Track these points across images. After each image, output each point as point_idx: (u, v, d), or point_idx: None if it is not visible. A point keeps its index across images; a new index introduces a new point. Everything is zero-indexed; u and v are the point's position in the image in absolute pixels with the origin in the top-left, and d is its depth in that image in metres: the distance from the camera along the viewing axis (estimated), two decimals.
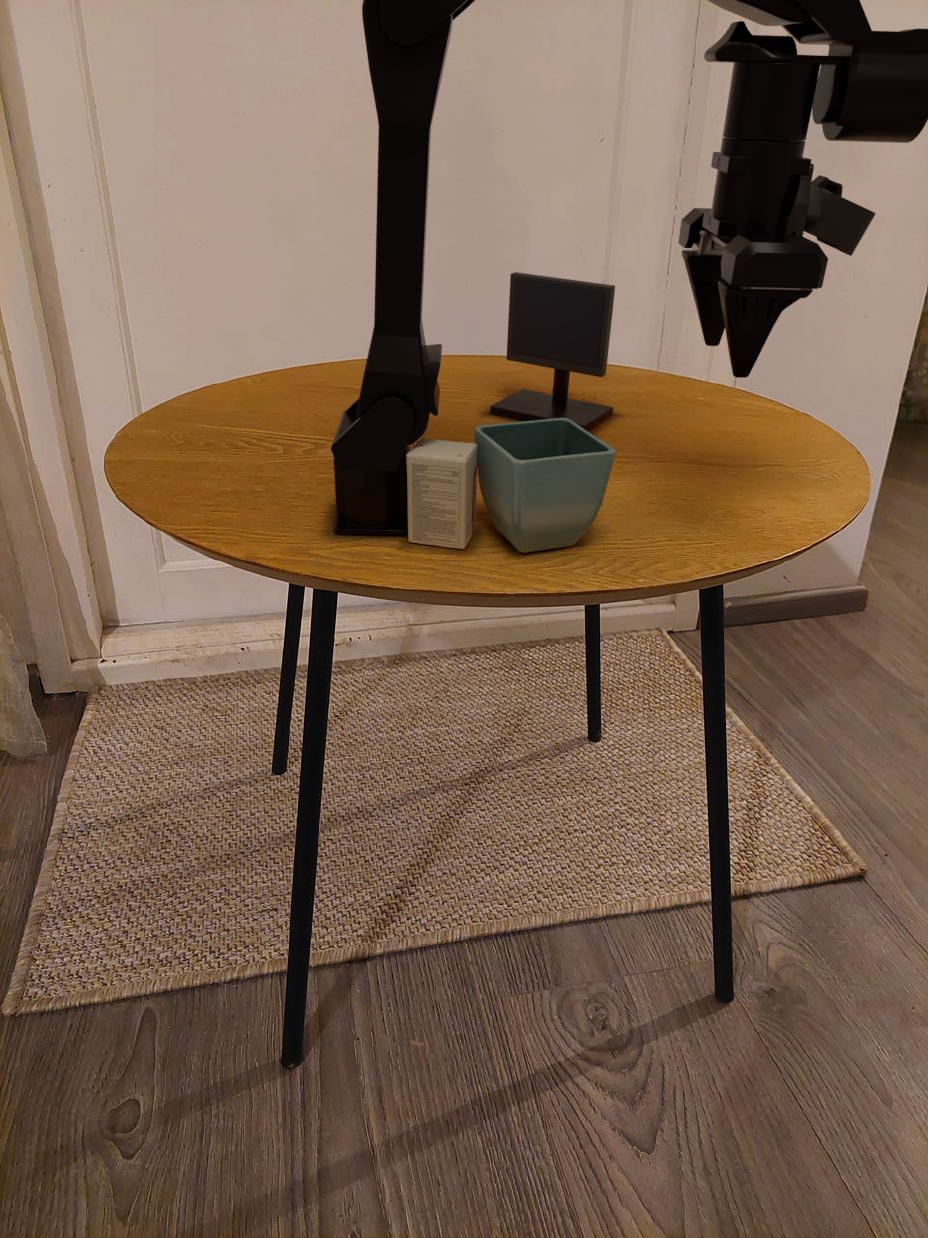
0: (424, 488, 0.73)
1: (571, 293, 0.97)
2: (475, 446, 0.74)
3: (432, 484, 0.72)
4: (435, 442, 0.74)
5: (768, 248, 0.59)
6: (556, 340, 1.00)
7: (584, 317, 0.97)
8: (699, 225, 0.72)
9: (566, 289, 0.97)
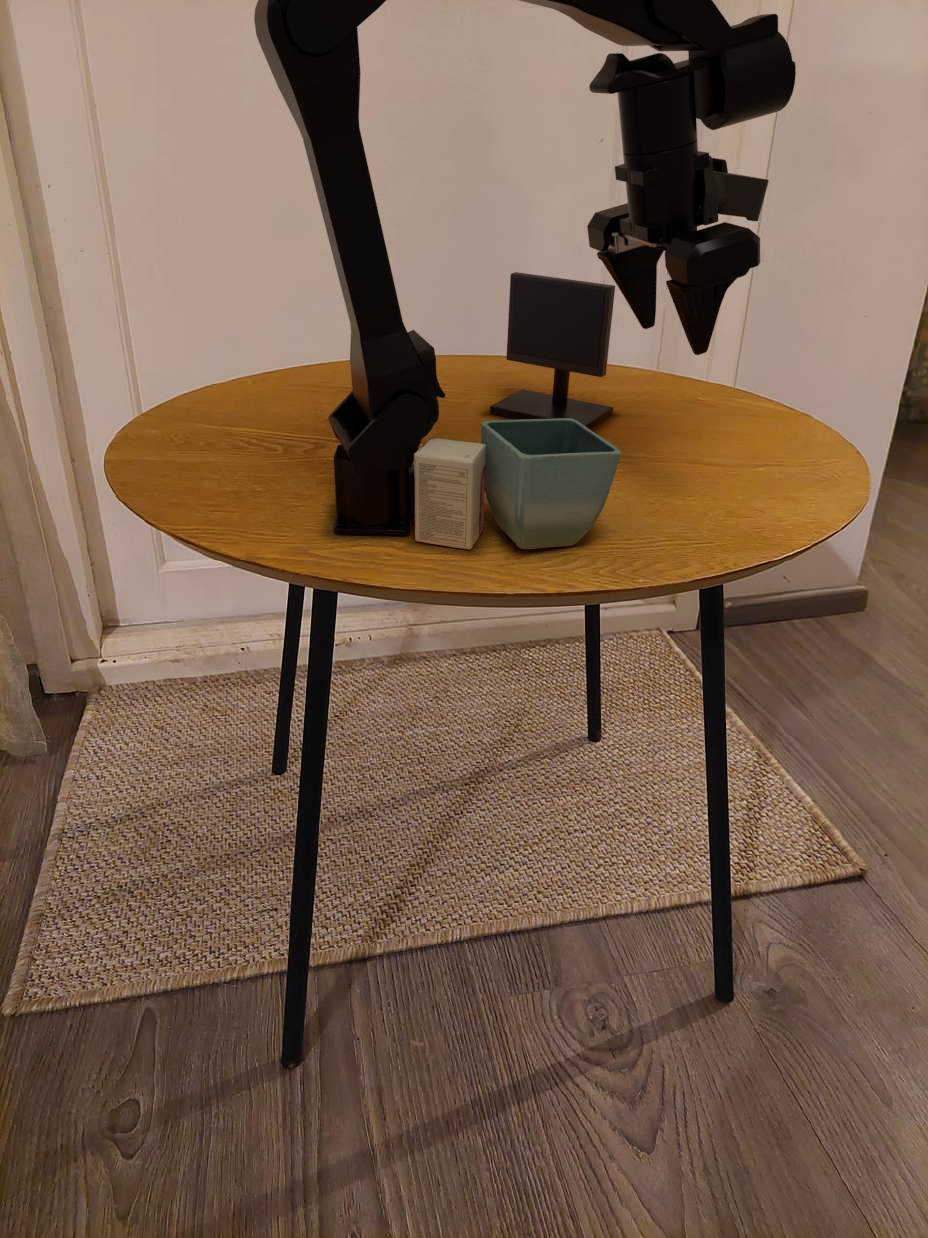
0: (431, 488, 0.73)
1: (571, 293, 0.97)
2: (483, 447, 0.73)
3: (439, 484, 0.72)
4: (444, 442, 0.74)
5: (712, 245, 0.67)
6: (556, 340, 1.00)
7: (584, 317, 0.97)
8: (611, 229, 0.79)
9: (566, 289, 0.97)
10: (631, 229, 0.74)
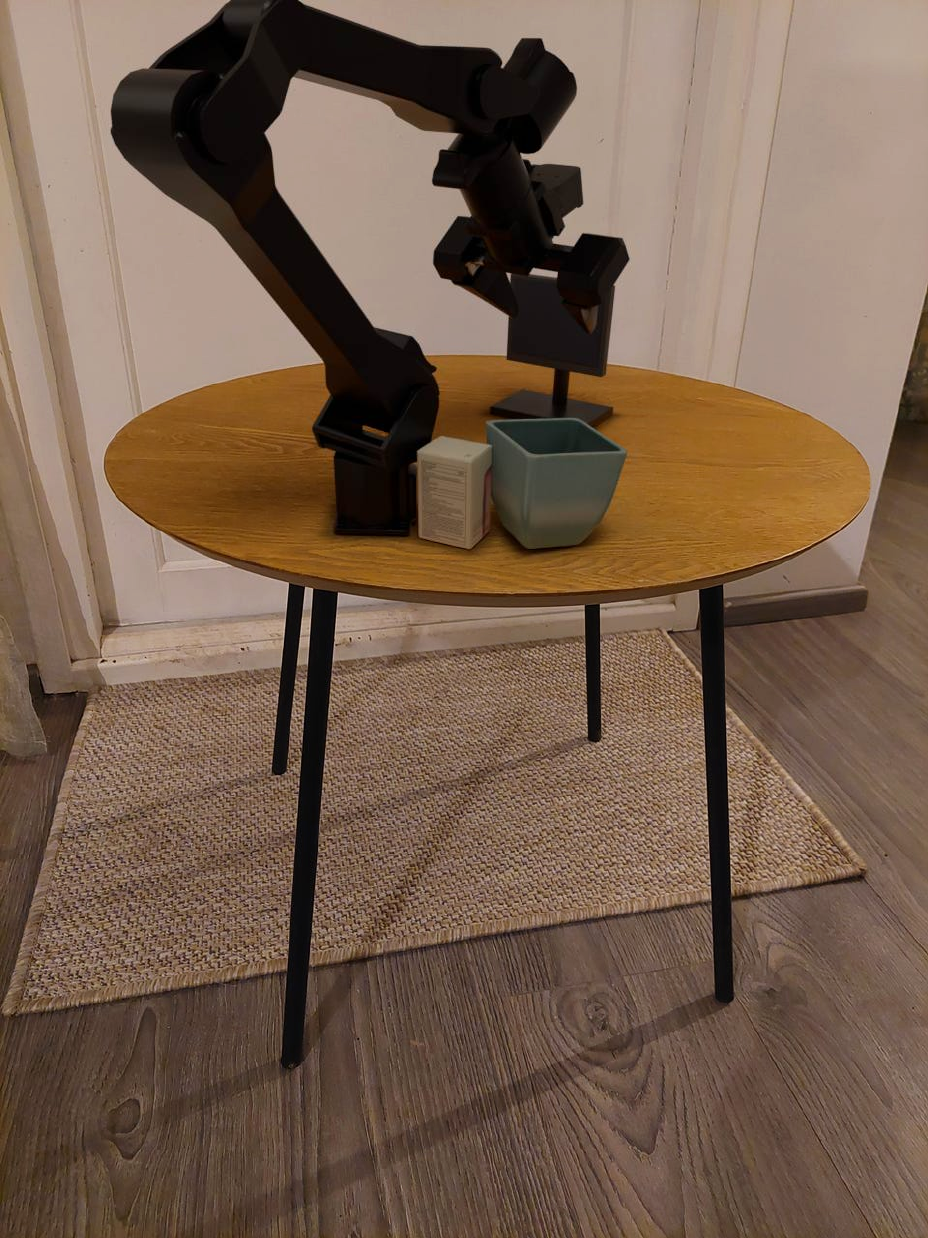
0: (432, 485, 0.73)
1: None
2: (489, 447, 0.73)
3: (440, 481, 0.73)
4: (451, 440, 0.74)
5: (600, 269, 0.77)
6: (556, 340, 1.00)
7: None
8: (464, 262, 0.85)
9: None
10: (501, 267, 0.82)
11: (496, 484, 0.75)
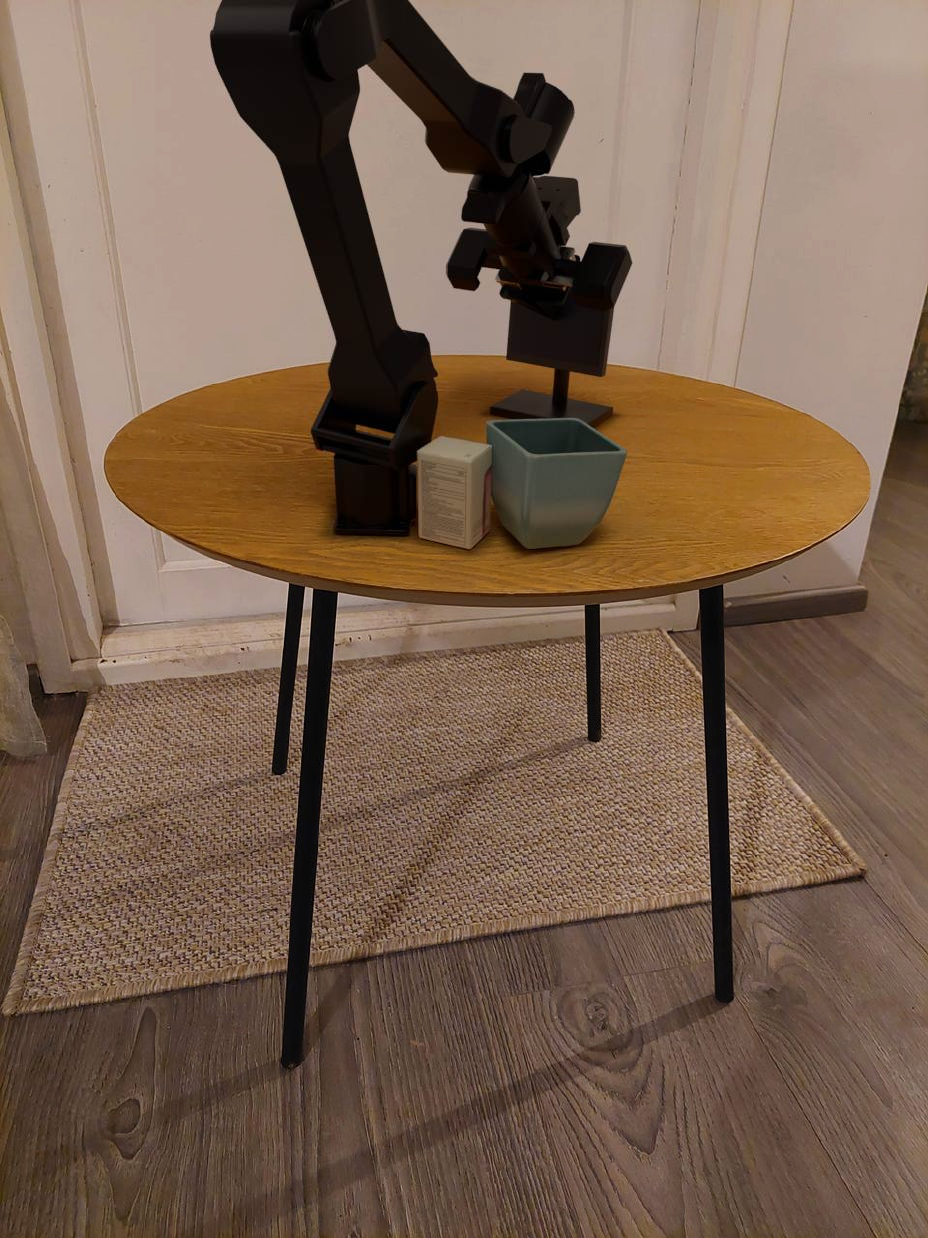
0: (432, 485, 0.73)
1: None
2: (489, 447, 0.73)
3: (440, 481, 0.73)
4: (451, 440, 0.74)
5: (612, 278, 0.86)
6: (556, 339, 1.00)
7: (586, 316, 0.98)
8: (477, 274, 0.93)
9: None
10: (517, 280, 0.90)
11: (496, 484, 0.75)
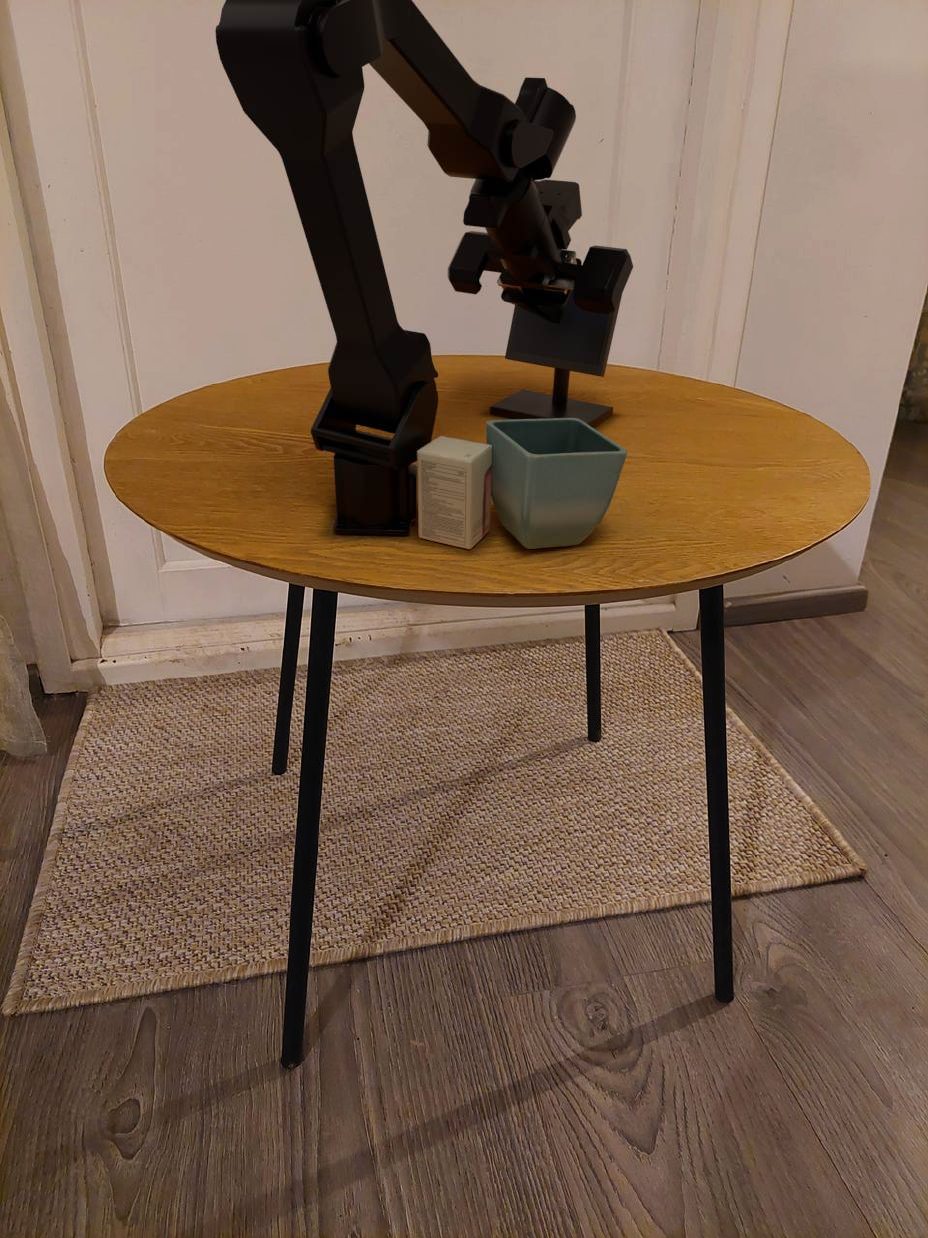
0: (432, 485, 0.73)
1: None
2: (489, 447, 0.73)
3: (440, 481, 0.73)
4: (451, 440, 0.74)
5: (613, 282, 0.87)
6: (558, 338, 1.01)
7: (590, 314, 0.98)
8: (479, 278, 0.93)
9: None
10: (518, 283, 0.90)
11: (496, 484, 0.75)
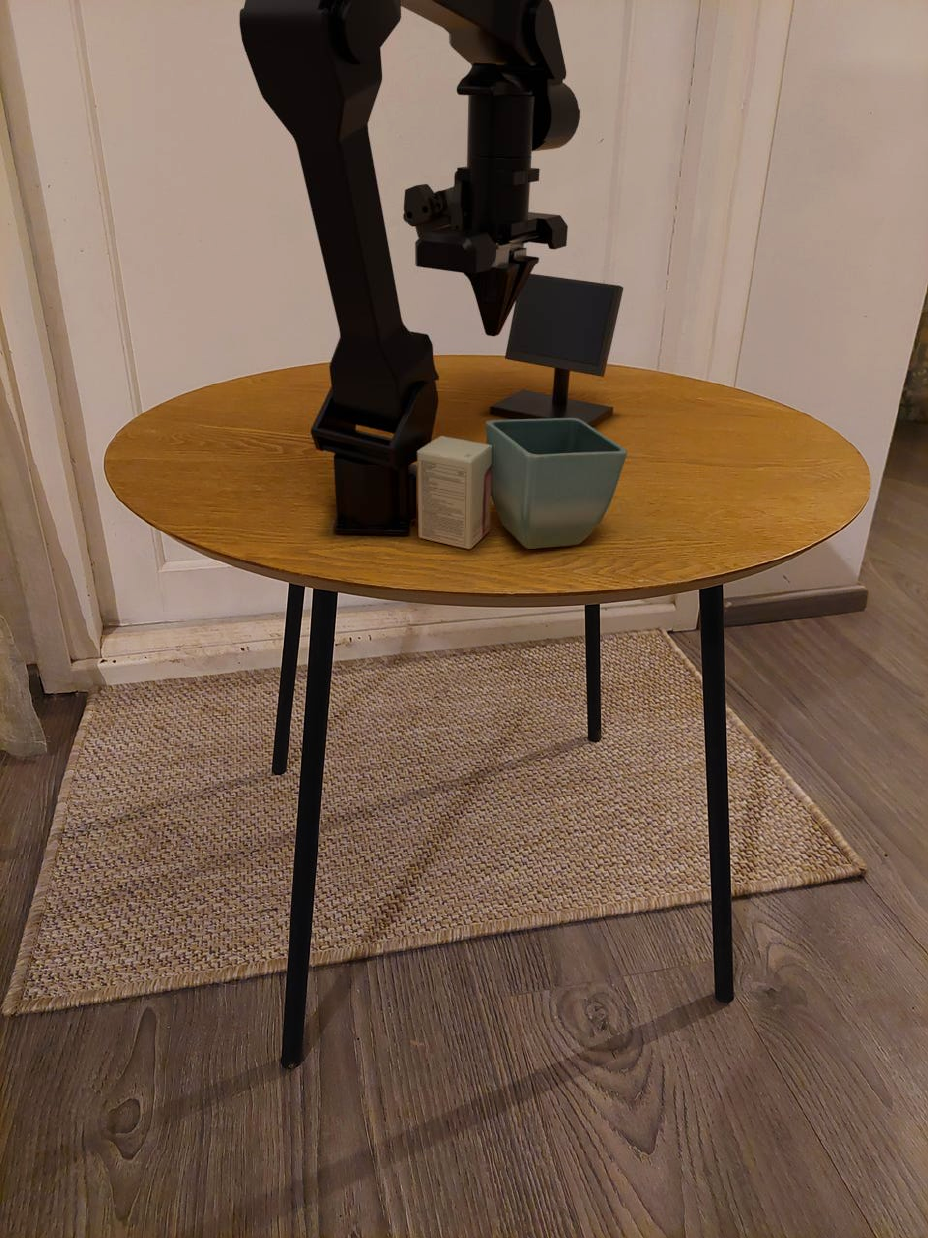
0: (432, 485, 0.73)
1: (579, 291, 0.99)
2: (489, 447, 0.73)
3: (440, 481, 0.73)
4: (451, 440, 0.74)
5: None
6: (558, 338, 1.01)
7: (590, 314, 0.98)
8: None
9: (575, 287, 0.99)
10: (522, 227, 0.81)
11: (496, 484, 0.75)
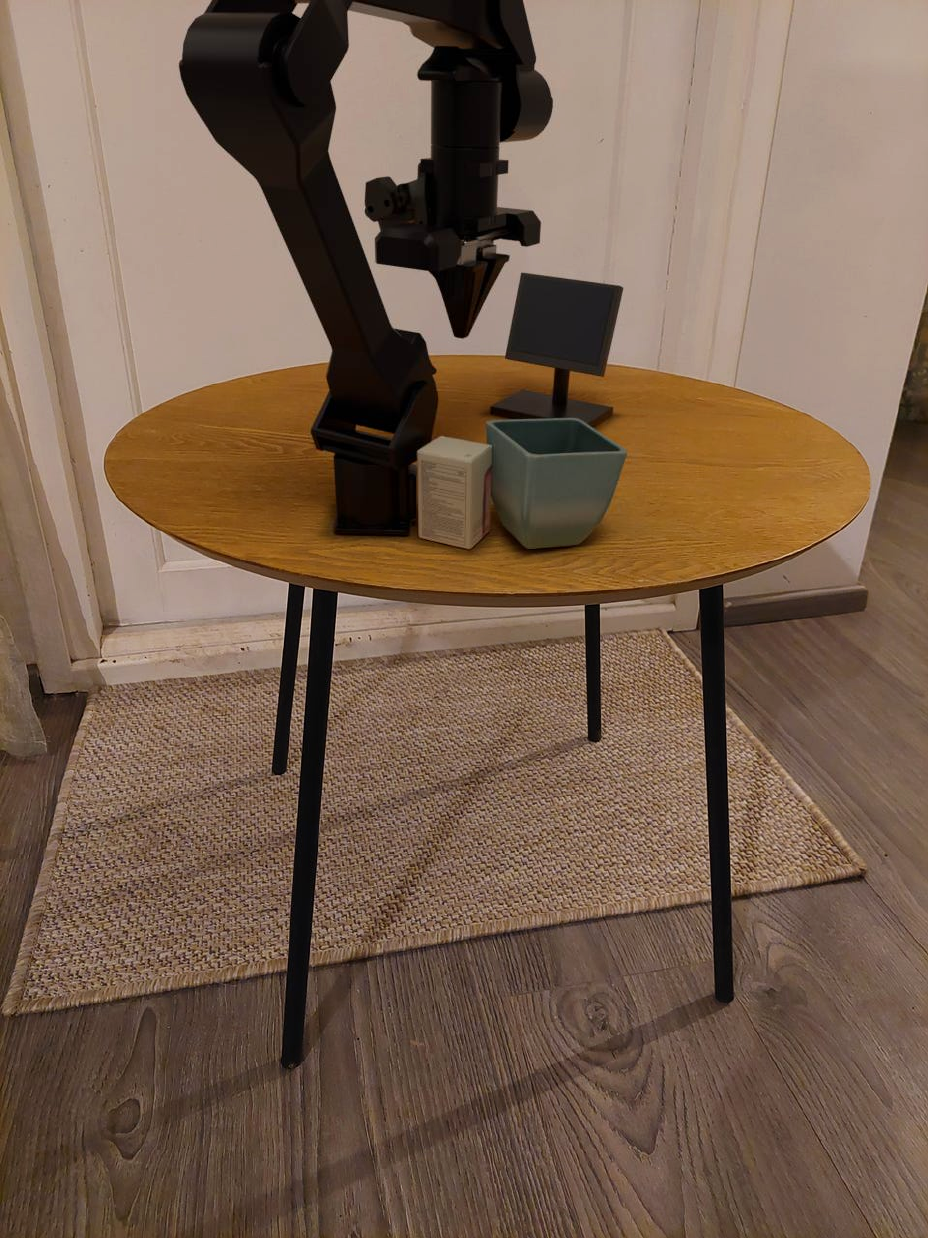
0: (432, 485, 0.73)
1: (579, 291, 0.99)
2: (489, 447, 0.73)
3: (440, 481, 0.73)
4: (451, 440, 0.74)
5: None
6: (558, 338, 1.01)
7: (590, 314, 0.98)
8: None
9: (575, 287, 0.99)
10: (490, 222, 0.76)
11: (496, 484, 0.75)
